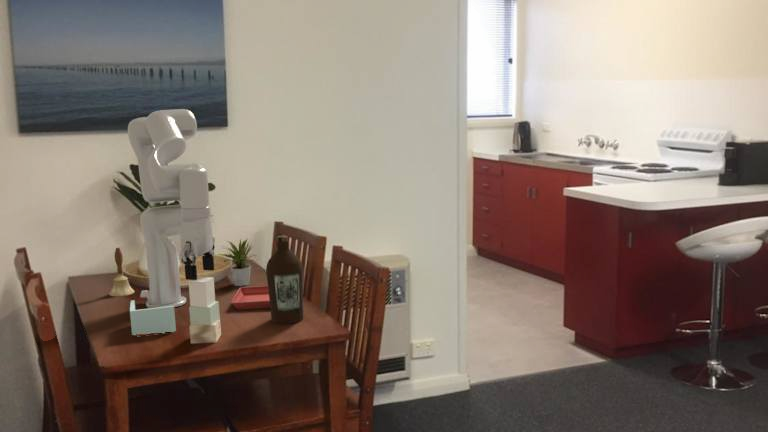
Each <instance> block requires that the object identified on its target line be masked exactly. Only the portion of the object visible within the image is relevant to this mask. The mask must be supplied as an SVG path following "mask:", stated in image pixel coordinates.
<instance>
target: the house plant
mask: <svg viewBox="0 0 768 432" xmlns="http://www.w3.org/2000/svg"><path fill="white" fill-rule="evenodd" d="M248 240H249V237H248V238H245V240H243V242H242V239H240V240H239V244H238V248H237V246H236V245H235V243H233V242H231V241H228V240H226V242H228V243H229V245H230V246H231V248H230V247H228V246H227V247H226V246H224V245H222V248H225V249H227V251H228V253H227V254H225V253H218V254H217V255H218V256H224V257H220V258H224V259H223V260H222V263H226V262H228V261H229V262H232V263H233V265H232V266H230V273H231V276H232V281H233V285H234V286H236V287H246V286H248V285H249V284H250V277H251V267H252V266H251V265H250V264H247V262H248V260H249V259H250V258H251V257H253V256H254V257H255V256H256V254H254V255H251V256H248V254H249V252H250V251H252V248H253V247H254V245H252V242H251V243H250V241H248ZM249 244H250V245H249ZM251 245H252V246H251ZM229 258H230V259H229Z"/></svg>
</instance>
